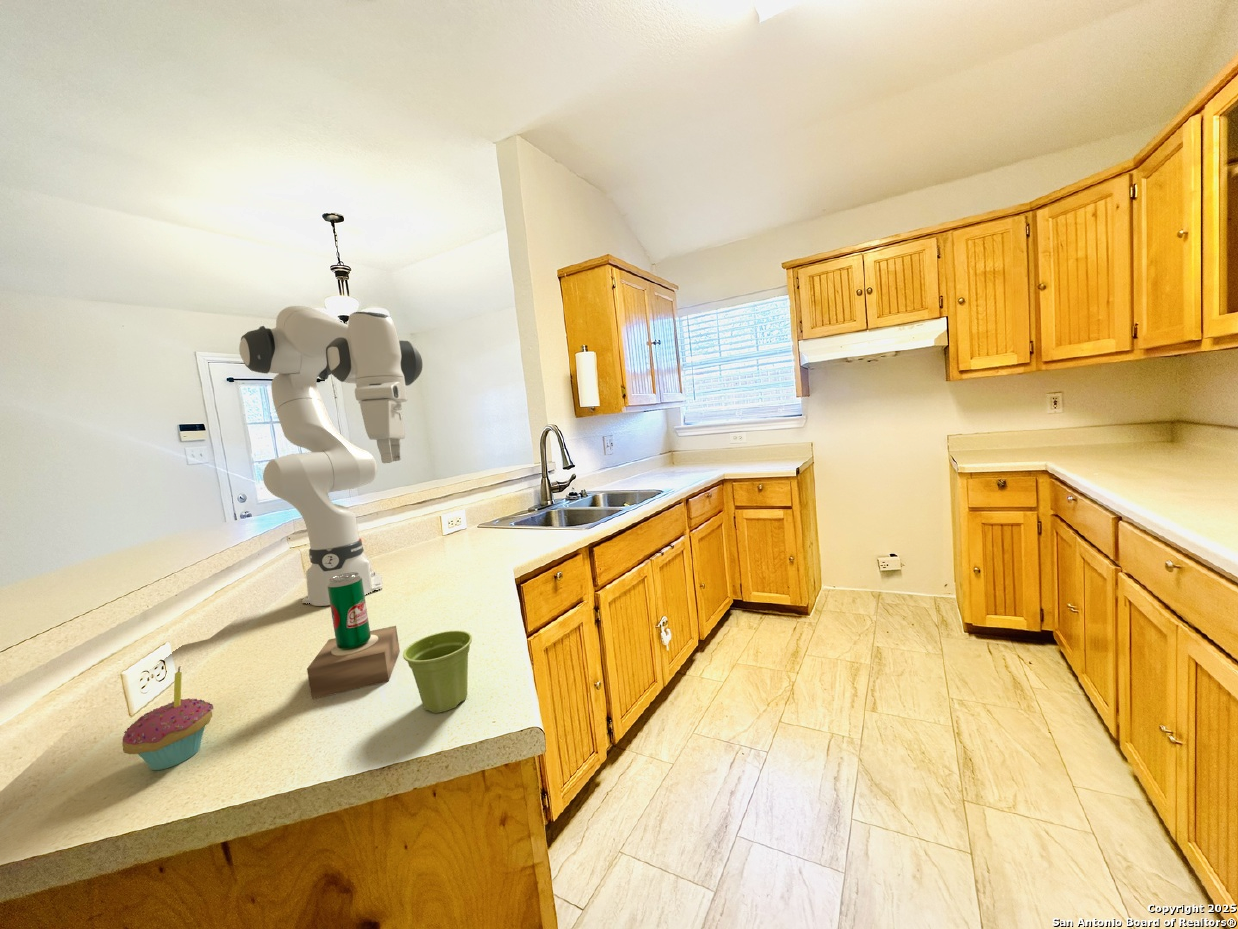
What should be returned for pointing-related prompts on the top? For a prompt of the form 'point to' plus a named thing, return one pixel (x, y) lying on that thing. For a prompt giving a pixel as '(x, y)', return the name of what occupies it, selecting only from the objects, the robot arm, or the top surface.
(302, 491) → the robot arm
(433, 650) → the plant pot
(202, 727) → the cupcake
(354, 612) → the soda can
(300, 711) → the top surface
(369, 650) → the plinth
